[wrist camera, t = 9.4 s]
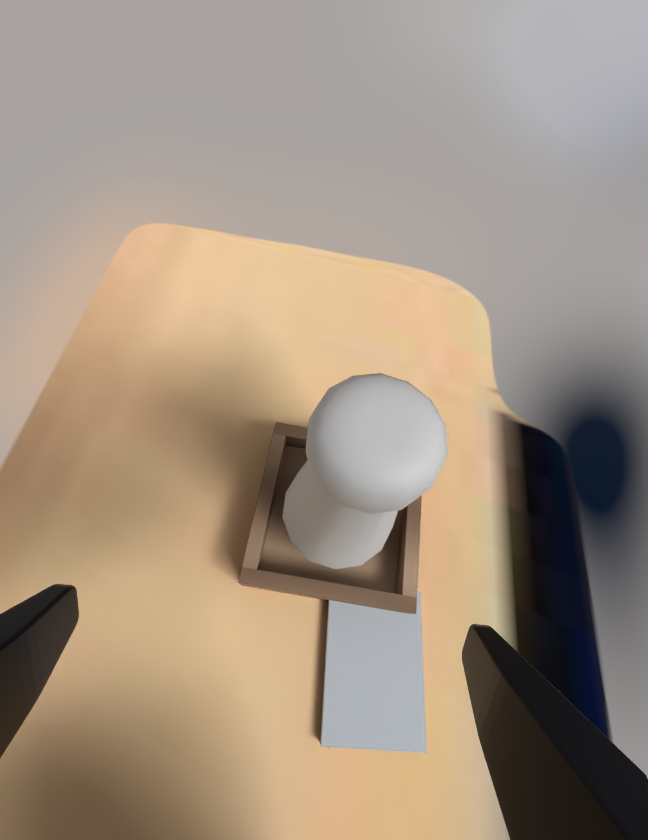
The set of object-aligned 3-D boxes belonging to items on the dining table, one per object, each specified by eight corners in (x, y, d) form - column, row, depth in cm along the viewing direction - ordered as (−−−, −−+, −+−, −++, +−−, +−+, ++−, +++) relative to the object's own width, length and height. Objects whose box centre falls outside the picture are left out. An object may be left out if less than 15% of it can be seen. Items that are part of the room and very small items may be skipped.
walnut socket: (404, 613, 22) (416, 613, 20) (242, 585, 22) (238, 582, 20) (412, 461, 26) (423, 448, 24) (276, 437, 26) (275, 422, 24)
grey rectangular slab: (422, 749, 19) (426, 753, 19) (320, 742, 19) (321, 746, 18) (417, 592, 22) (420, 591, 22) (329, 585, 22) (330, 584, 21)
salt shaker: (268, 552, 22) (246, 484, 10) (301, 460, 24) (315, 319, 13) (370, 587, 21) (469, 558, 10) (393, 489, 24) (494, 373, 12)
